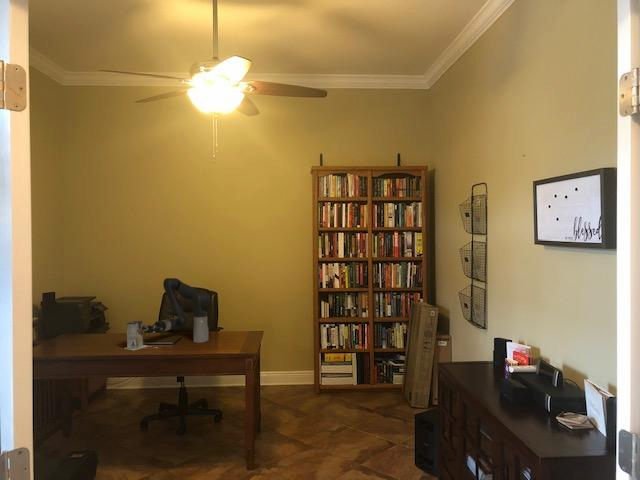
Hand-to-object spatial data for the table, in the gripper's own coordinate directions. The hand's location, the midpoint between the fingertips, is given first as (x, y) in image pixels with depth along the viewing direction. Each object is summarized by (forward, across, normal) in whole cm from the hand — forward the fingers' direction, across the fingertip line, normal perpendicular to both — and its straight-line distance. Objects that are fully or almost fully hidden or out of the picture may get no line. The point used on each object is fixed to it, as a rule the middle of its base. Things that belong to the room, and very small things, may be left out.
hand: (143, 330), depth 303 cm
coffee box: (+6, 0, +10) cm, 12 cm away
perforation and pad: (+5, +4, +10) cm, 12 cm away
